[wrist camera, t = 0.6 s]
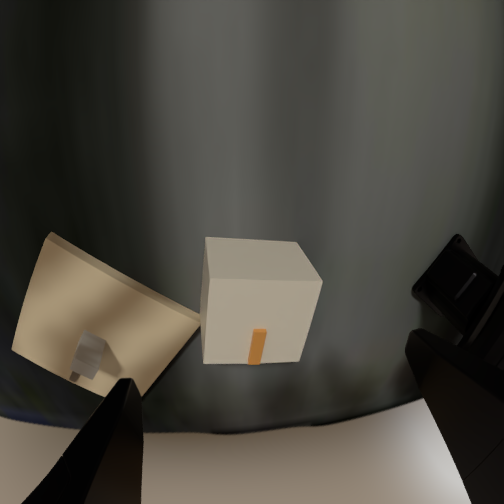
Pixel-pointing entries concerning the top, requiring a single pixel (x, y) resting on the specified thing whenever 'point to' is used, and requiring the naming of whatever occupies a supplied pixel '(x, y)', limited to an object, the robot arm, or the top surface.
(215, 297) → the small white box
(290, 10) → the top surface
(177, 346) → the board
